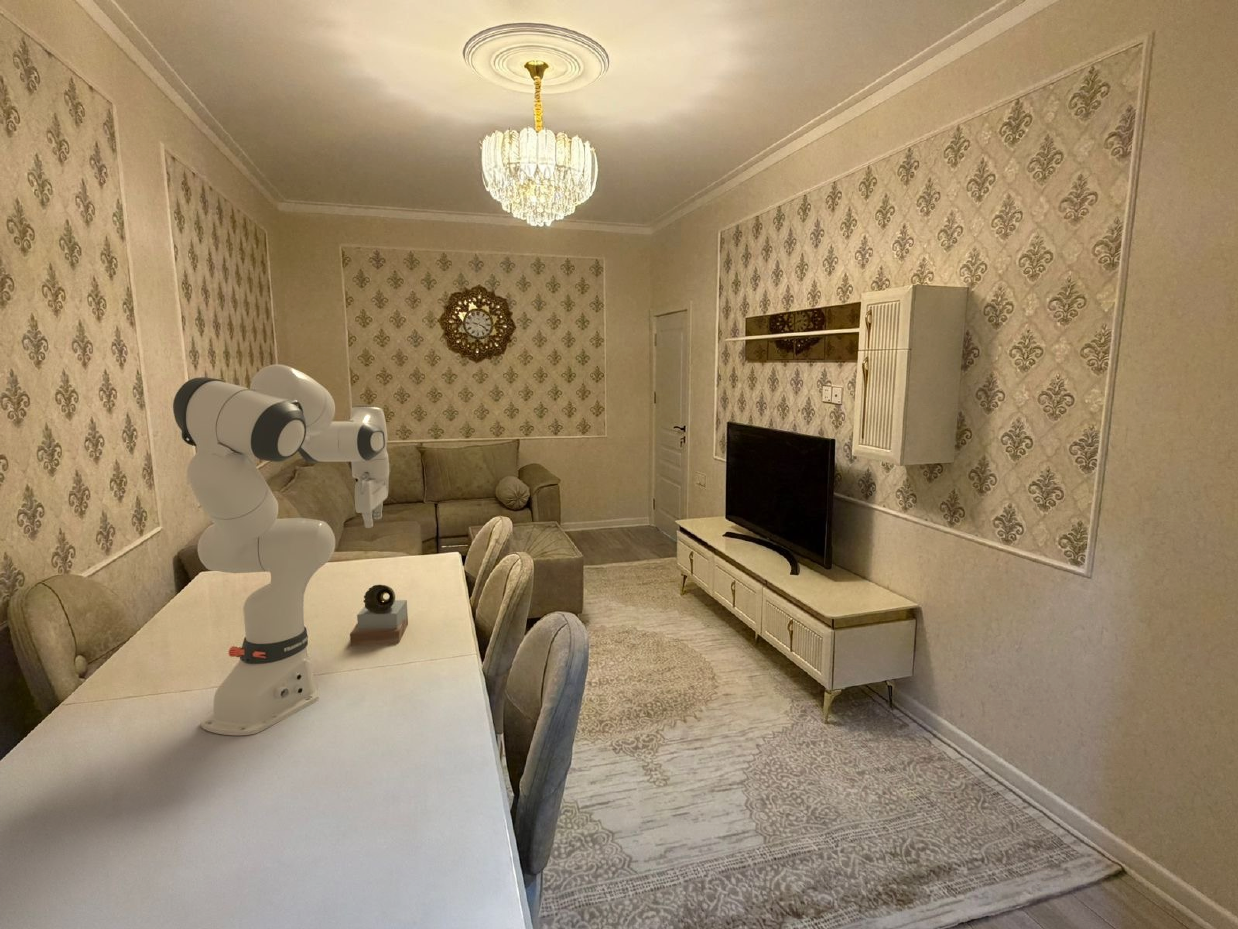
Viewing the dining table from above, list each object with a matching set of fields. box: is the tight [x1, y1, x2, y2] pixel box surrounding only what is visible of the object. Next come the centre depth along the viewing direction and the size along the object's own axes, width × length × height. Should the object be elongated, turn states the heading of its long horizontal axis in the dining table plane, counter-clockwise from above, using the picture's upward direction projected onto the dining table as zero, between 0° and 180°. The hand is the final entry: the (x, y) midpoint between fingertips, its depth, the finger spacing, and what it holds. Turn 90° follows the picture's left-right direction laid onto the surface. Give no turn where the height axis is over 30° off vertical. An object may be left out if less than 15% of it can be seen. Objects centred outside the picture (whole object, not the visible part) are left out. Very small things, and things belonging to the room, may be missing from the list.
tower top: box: [356, 599, 409, 630], centre depth 169 cm, size 10×10×4 cm
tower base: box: [349, 614, 409, 647], centre depth 168 cm, size 12×12×4 cm
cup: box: [363, 584, 396, 614], centre depth 167 cm, size 8×7×8 cm
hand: (373, 522), depth 163 cm, fingers open, 8 cm apart
